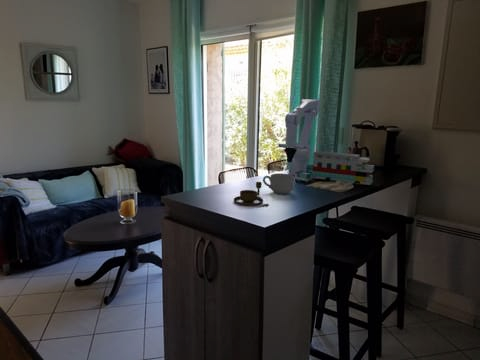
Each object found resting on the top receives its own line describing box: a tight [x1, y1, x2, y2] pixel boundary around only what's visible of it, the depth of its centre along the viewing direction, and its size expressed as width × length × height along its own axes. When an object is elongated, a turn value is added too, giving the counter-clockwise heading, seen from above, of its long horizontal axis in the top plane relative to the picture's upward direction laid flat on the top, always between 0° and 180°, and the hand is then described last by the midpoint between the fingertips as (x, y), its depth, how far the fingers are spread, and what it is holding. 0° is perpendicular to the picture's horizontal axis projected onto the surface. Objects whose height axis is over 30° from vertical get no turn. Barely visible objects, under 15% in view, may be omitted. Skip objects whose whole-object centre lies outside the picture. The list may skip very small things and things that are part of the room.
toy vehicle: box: [311, 150, 375, 187], centre depth 185 cm, size 8×30×15 cm, turn 62°
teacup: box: [262, 173, 295, 195], centre depth 159 cm, size 14×11×8 cm
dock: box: [305, 181, 355, 193], centre depth 175 cm, size 19×14×4 cm
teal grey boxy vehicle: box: [294, 171, 314, 185], centre depth 183 cm, size 7×7×5 cm
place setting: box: [233, 181, 270, 209], centre depth 145 cm, size 18×20×6 cm
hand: (289, 162), depth 187 cm, fingers closed
